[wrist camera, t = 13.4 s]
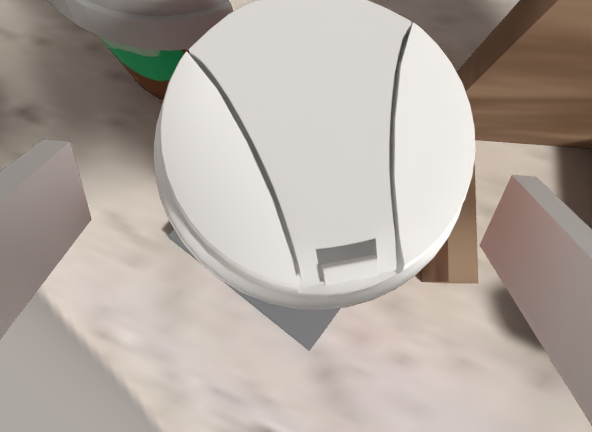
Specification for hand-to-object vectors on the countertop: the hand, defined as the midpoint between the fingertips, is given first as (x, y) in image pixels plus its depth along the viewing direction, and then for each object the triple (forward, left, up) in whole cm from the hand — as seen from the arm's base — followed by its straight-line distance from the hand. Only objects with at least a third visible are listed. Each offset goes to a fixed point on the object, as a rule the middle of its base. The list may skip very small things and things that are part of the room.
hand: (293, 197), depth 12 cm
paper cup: (0, -1, -10) cm, 10 cm away
